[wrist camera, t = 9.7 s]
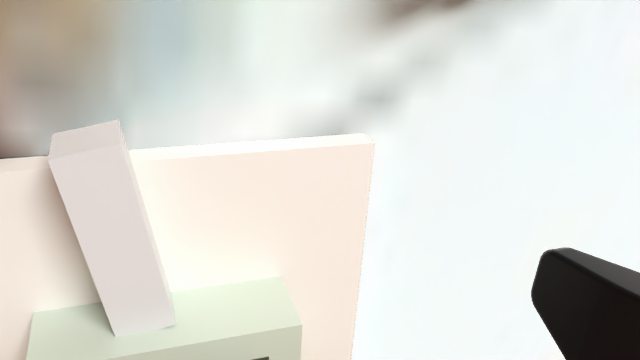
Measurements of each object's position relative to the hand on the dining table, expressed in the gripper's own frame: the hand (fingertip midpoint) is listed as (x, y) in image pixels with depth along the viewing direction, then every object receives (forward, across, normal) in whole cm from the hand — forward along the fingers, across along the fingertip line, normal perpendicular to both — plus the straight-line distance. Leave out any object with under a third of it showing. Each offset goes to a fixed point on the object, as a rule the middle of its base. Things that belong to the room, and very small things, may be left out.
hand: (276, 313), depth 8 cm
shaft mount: (+13, +1, +13) cm, 18 cm away
